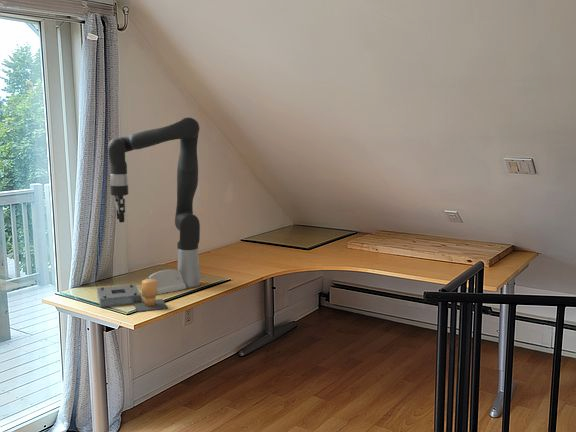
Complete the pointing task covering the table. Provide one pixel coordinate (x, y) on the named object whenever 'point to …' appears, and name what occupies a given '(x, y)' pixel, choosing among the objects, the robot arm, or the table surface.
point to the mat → (141, 306)
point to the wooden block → (149, 291)
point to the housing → (118, 295)
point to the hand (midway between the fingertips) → (120, 220)
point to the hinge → (168, 281)
